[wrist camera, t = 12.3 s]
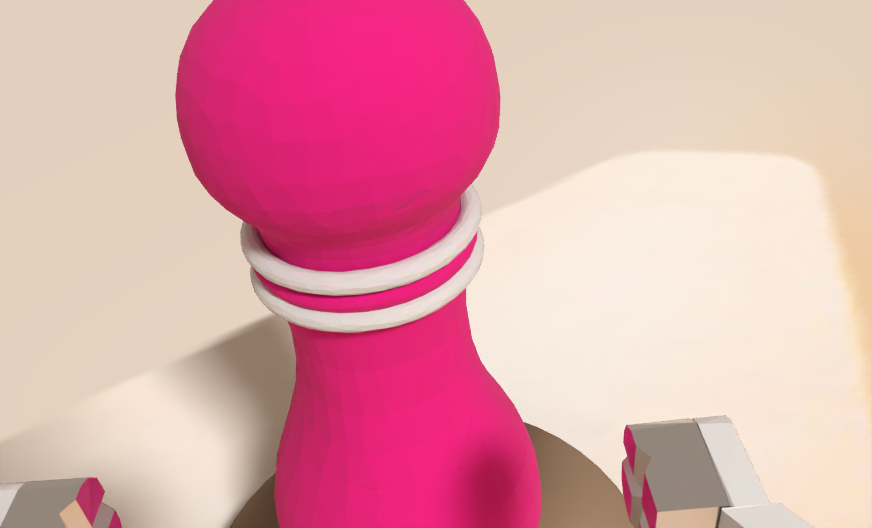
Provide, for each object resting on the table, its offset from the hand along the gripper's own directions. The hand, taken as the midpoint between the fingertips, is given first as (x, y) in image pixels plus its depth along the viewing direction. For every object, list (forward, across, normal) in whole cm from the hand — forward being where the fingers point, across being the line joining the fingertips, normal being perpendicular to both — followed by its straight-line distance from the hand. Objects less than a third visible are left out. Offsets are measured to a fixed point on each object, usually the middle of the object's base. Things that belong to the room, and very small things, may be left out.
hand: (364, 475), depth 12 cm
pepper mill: (+6, 0, +12) cm, 14 cm away
